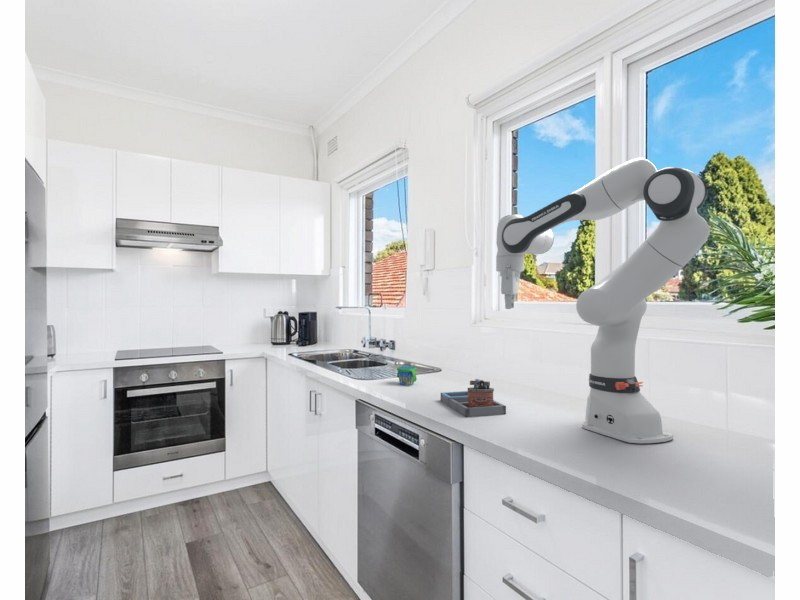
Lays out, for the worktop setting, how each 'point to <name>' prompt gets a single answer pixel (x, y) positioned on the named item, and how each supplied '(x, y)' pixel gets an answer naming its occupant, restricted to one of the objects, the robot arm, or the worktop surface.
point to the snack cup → (406, 375)
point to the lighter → (480, 394)
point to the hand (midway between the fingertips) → (509, 308)
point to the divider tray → (461, 404)
